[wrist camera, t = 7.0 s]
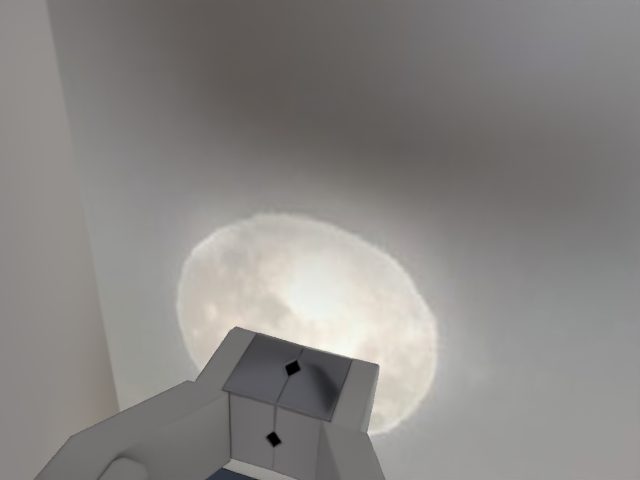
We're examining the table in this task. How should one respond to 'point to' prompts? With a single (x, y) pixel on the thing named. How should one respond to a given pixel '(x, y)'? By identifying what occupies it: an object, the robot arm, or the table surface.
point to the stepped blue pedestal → (227, 476)
